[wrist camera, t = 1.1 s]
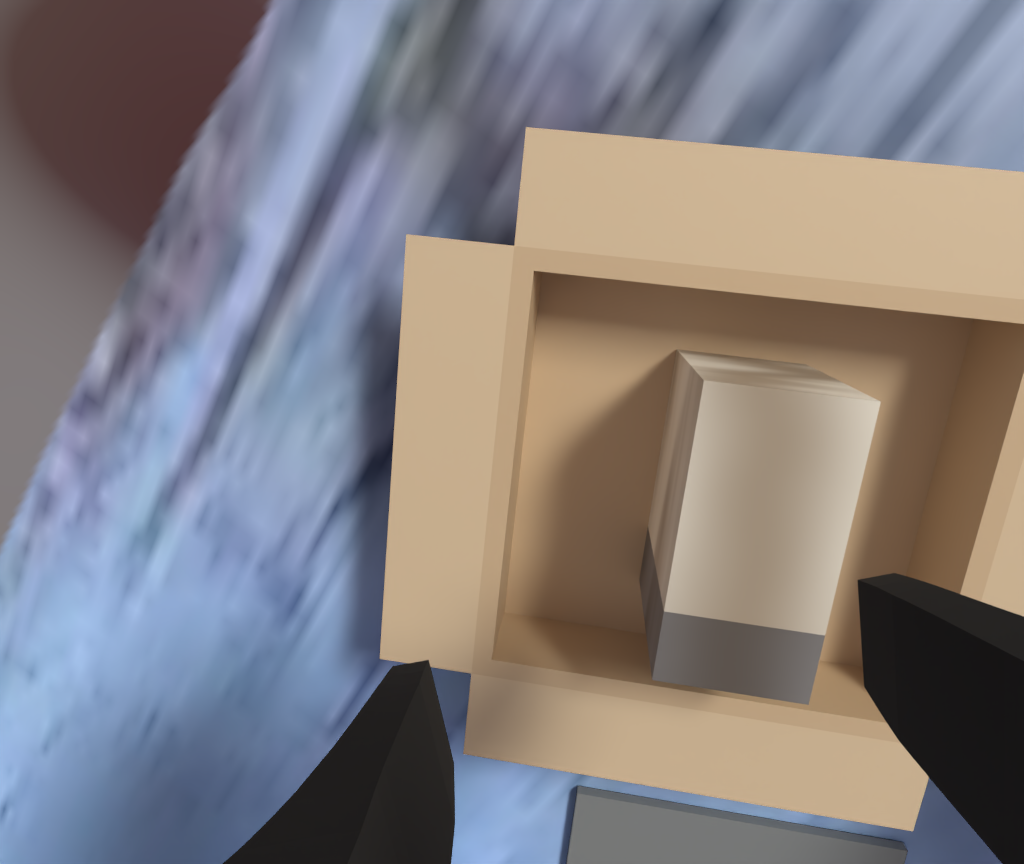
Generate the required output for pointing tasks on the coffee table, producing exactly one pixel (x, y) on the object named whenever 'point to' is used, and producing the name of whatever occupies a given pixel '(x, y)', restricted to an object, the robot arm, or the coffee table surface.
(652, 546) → the block
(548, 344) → the carton
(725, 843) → the slate mat
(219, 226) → the coffee table surface
